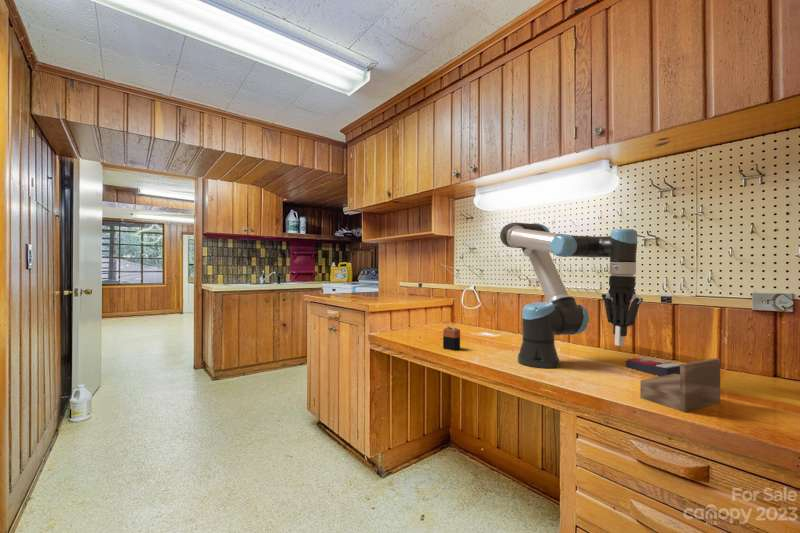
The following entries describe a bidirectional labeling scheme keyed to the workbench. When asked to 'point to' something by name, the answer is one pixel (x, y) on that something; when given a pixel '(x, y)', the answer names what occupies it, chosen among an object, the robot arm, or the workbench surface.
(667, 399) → the brown wooden l-shaped block
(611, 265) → the robot arm
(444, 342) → the battery
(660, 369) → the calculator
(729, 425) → the workbench surface
